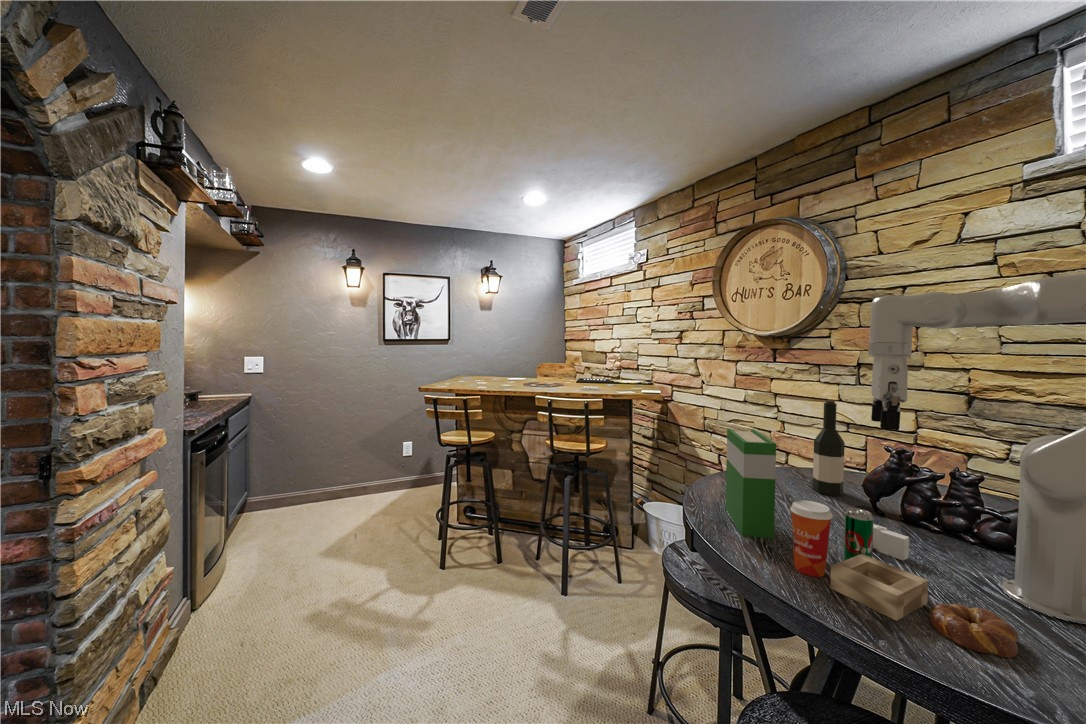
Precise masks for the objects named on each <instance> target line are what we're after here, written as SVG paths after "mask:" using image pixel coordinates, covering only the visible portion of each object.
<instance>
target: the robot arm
mask: <svg viewBox="0 0 1086 724" xmlns="http://www.w3.org/2000/svg"><path fill="white" fill-rule="evenodd" d="M870 305H871V308H870V310H871V311H870V321H869V338H868V355H867V356H868V357H871V358H873V363H872V373H871V395H872V397H873V398H872V405H871V417H870V418H871V419H870V420H871V421H873V422H876V423H879V422H880V425H879V426H880V429H882V430H888V431H889V430H891V431H900V426H901V425H900V424H901V403H902V404H903V403H904V404H905V403H906V402H908V377H909V375H908V360H907V359H911V358H912V350H913V349H912V347H913V333H914V327H922V328H929V329H937V330H946V329H947V330H948V329H949V330H950V329H960V328H961V329H962V328H964V329H965V328H978V327H993V326H994V327H995V326H1007V325H1008V326H1010V325H1011V326H1012V325H1014V326H1016V325H1018V326H1019V325H1020V326H1031V325H1032V326H1033V325H1048V324H1049V325H1050V324H1063V323H1066V324H1067V323H1077V322H1086V273H1079V274H1078V273H1077V274H1070V275H1069V274H1067V275H1061V276H1052V277H1043V278H1042V277H1041V278H1038V279H1033V280H1028V281H1025V282H1022V283H1021V282H1020V283H1018V284H1016V285H1012V286H1011V285H1010V286H1007V287H1001V288H998V289H989V290H982V291H974V292H973V291H972V292H965V293H963V292H962V293H958V294H957V293H955V294H954V293H953V294H951V293H949V292H943V291H934V292H927V293H920V294H913V295H901V294H900V295H895V294H894V295H883V296H877V297H875V298H874V299H873V300H872V302H871V304H870ZM1019 473H1020V475H1019V490H1018V491H1019V492H1018V497H1019V498H1018V512H1017V524H1016V526H1017V528H1016V529H1017V530H1016V545H1015V546H1016V547H1015V548H1016V549H1015V567H1014V568H1015V569H1014V579H1008V580H1005V581H1003V582H1002V588H1001V589H1002V591H1003V593H1004V594H1005V595H1006V594H1007V595H1008V596H1009V597H1008V596H1007V595H1006V596H1007V597H1008V598H1009V599H1011V598H1012V599H1013V601H1014V600H1015V601H1017V602H1019V603H1021V604H1023V605H1025V606H1027V607H1030V608H1032V609H1034V610H1037V611H1039V612H1042V613H1044V614H1047V615H1050V616H1055V617H1061V618H1066V619H1070V620H1075V621H1082V622H1086V426H1084V427H1081V428H1079V429H1077V430H1075V431H1072V432H1070V433H1069V434H1066V435H1060V434H1059V435H1058V434H1051V435H1050V434H1048V435H1043V436H1039V437H1038V438H1034V439H1032V440H1030V441H1029V442H1027V443H1026V444H1025V445H1024V447H1023V448H1022V451H1021V452H1020V461H1019ZM1012 599H1011V600H1012ZM1015 601H1014V602H1015ZM1017 602H1016V603H1017ZM1019 603H1018V604H1019ZM1021 604H1020V605H1021ZM1023 605H1022V606H1023ZM1025 606H1024V607H1025ZM1027 607H1026V608H1027ZM1034 610H1033V611H1034ZM1039 612H1038V613H1039ZM1044 614H1043V615H1044ZM1047 615H1046V616H1047Z"/></svg>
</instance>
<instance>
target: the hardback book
mask: <svg viewBox="0 0 1086 724" xmlns="http://www.w3.org/2000/svg"><path fill="white" fill-rule="evenodd" d="M725 463H726V464H725V467H726V469H725V472H726V473H725V474H726V475H725V510H726V512H727V511H728V512H727V514H728V513H729V514H728V515H729V517H730V516H731V517H730V518H731V520H732V522H733V521H734V522H733V523H734V525H735V527H736V528H737V530H738V531H739V533H740V534H741V536H742V537H752V538H766V539H775V517H776V515H775V508H776V507H775V506H776V472H777V470H776V467H777V443H776V442H775V441H773V440H772V439H770V438H769V437H767V436H766V435H764V434H762V433H761V432H760V431H758V430H756V429H755V428H750V431H744V430H743V431H742V430H741V431H738V430H737V431H736V430H734V429H732V428H730V427H726V462H725Z"/></svg>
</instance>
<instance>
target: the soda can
mask: <svg viewBox="0 0 1086 724" xmlns="http://www.w3.org/2000/svg"><path fill="white" fill-rule="evenodd" d="M874 524H875V523H874V517H873V515H872V512H870V511H868V510H866V509H864V508H863V509H862V508H857V507H848V508H847V509H846V511H845V512H844V528H843V557H842V558H843V561H845V560H847V559H850V558H852V557H855V556H857V555H860V554H864V555H867V556H869V557H872V558H873V550H874V548H873V525H874Z"/></svg>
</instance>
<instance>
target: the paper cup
mask: <svg viewBox="0 0 1086 724" xmlns="http://www.w3.org/2000/svg"><path fill="white" fill-rule="evenodd" d="M789 509H790V511H791V524H792V551H793V565H794V569H795V570H796V571H797V572H799V573H801V574H802V575H805V576H808V577H813V578H821V577H824V576H825V574H826V567H827V558H828V551H829V550H828V549H829V540H830V539H829V538H830V529H831V522H832V521H831V520H832V519H833V517H834V515H833V514H832V512H831V509H830V507H828V506H827V505H825V504H823V503H819V502H816V501H812V500H802V499H801V500H798V501H797V500H796V501H793V502H792V504H791V506H790V507H789Z"/></svg>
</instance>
